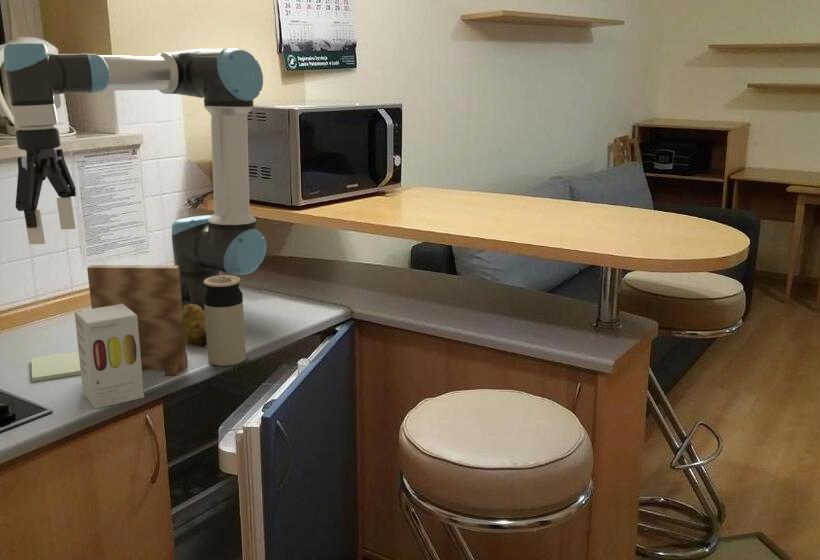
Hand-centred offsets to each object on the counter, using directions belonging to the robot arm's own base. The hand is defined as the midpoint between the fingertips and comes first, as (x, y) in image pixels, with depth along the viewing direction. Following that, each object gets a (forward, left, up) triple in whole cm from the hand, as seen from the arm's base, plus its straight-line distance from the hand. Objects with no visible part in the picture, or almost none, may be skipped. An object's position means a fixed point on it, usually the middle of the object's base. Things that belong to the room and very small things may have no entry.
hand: (53, 236), depth 157 cm
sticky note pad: (+2, -2, -29) cm, 29 cm away
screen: (-14, +6, -29) cm, 32 cm away
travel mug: (-31, +9, -29) cm, 43 cm away
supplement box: (-7, +18, -29) cm, 34 cm away
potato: (-27, -6, -29) cm, 40 cm away
